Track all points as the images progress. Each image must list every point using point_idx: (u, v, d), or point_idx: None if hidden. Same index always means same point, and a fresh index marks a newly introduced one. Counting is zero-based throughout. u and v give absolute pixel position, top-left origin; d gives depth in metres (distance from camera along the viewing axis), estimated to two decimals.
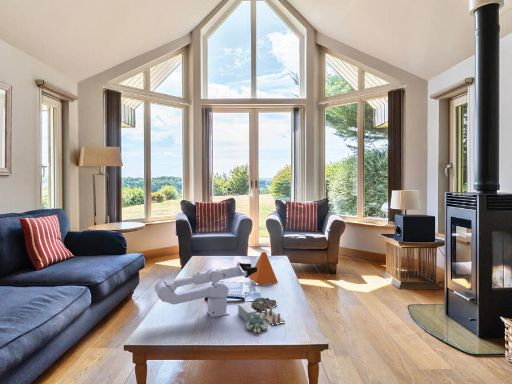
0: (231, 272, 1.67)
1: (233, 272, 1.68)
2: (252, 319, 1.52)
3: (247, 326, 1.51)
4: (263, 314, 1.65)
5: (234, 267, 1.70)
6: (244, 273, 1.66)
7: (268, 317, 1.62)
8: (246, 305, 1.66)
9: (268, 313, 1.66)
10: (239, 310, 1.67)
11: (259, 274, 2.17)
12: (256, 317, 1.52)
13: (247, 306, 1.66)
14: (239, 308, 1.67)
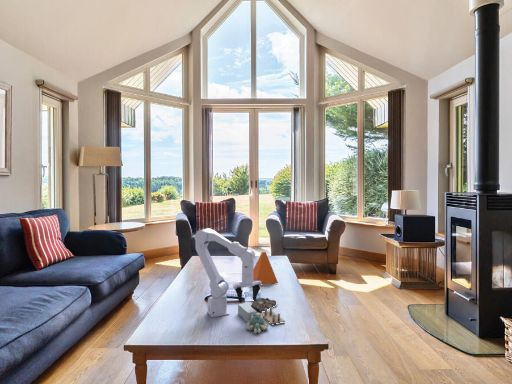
0: (247, 275, 1.60)
1: (242, 276, 1.62)
2: (252, 319, 1.52)
3: (247, 326, 1.51)
4: (263, 314, 1.65)
5: (247, 279, 1.61)
6: (234, 286, 1.60)
7: (268, 317, 1.62)
8: (246, 305, 1.66)
9: (268, 313, 1.66)
10: (239, 310, 1.67)
11: (259, 274, 2.17)
12: (256, 317, 1.52)
13: (247, 306, 1.66)
14: (239, 308, 1.67)
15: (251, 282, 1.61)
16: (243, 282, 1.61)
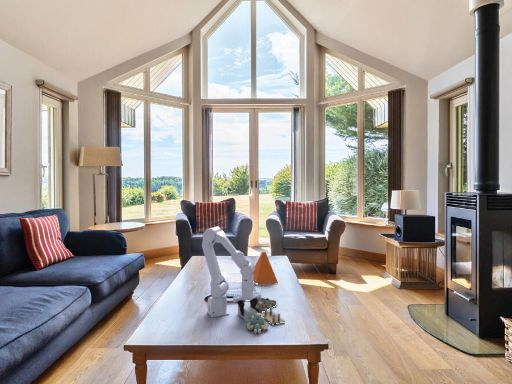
0: (246, 288, 1.61)
1: (242, 289, 1.62)
2: (253, 319, 1.52)
3: (248, 326, 1.51)
4: (263, 314, 1.65)
5: (246, 293, 1.61)
6: (233, 299, 1.60)
7: (268, 317, 1.62)
8: (246, 305, 1.66)
9: (268, 313, 1.66)
10: (239, 310, 1.67)
11: (259, 274, 2.17)
12: (257, 317, 1.51)
13: (247, 306, 1.66)
14: (239, 308, 1.67)
15: (251, 295, 1.62)
16: (243, 295, 1.62)
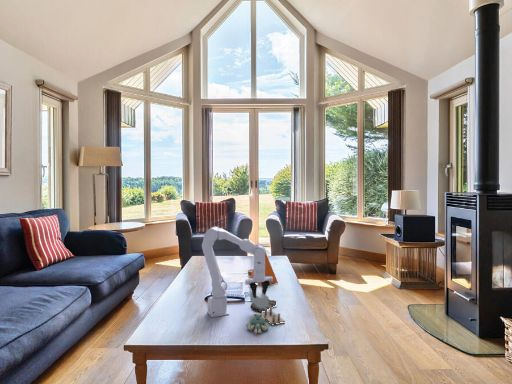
0: (260, 270, 1.63)
1: (254, 272, 1.64)
2: (253, 319, 1.52)
3: (248, 326, 1.50)
4: (263, 314, 1.65)
5: (259, 275, 1.63)
6: (246, 281, 1.63)
7: (268, 317, 1.62)
8: (258, 292, 1.69)
9: (268, 313, 1.66)
10: (251, 296, 1.69)
11: None
12: (257, 317, 1.51)
13: (259, 292, 1.68)
14: (251, 294, 1.69)
15: (263, 278, 1.64)
16: (255, 278, 1.64)
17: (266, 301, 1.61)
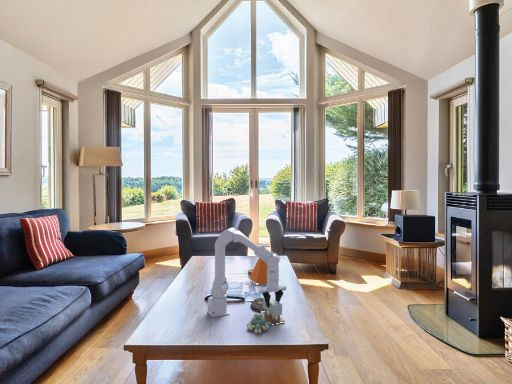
0: (273, 280, 1.59)
1: (268, 281, 1.60)
2: (254, 319, 1.51)
3: (248, 326, 1.50)
4: (263, 314, 1.65)
5: (272, 284, 1.59)
6: (259, 291, 1.58)
7: (268, 317, 1.62)
8: (271, 299, 1.65)
9: (268, 313, 1.66)
10: (264, 303, 1.65)
11: (259, 274, 2.17)
12: (258, 317, 1.51)
13: (272, 299, 1.64)
14: (264, 301, 1.65)
15: (277, 287, 1.60)
16: (268, 287, 1.60)
17: (280, 309, 1.57)
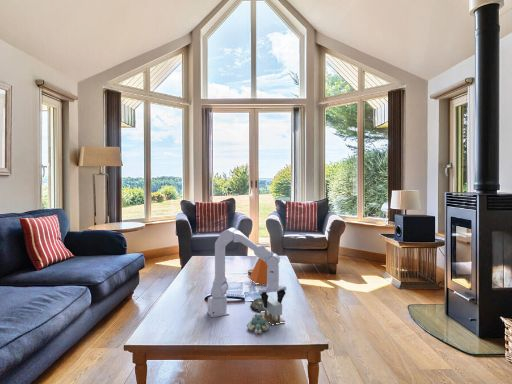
0: (273, 280, 1.59)
1: (268, 281, 1.60)
2: (254, 319, 1.51)
3: (249, 326, 1.50)
4: (263, 314, 1.65)
5: (272, 284, 1.59)
6: (259, 291, 1.58)
7: (268, 317, 1.62)
8: (271, 299, 1.65)
9: (268, 313, 1.66)
10: None
11: (259, 274, 2.17)
12: (258, 318, 1.51)
13: (272, 299, 1.64)
14: None
15: (277, 287, 1.60)
16: (268, 287, 1.60)
17: (280, 309, 1.57)
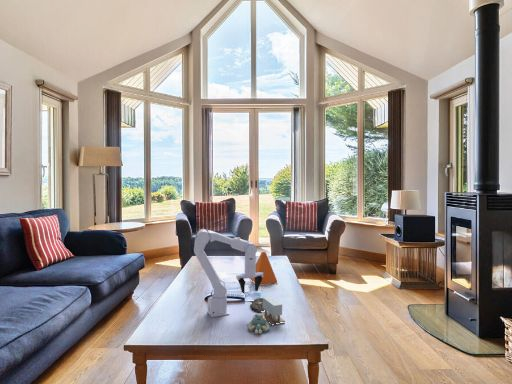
0: (252, 266, 1.68)
1: (245, 268, 1.69)
2: (254, 320, 1.51)
3: (249, 326, 1.50)
4: (263, 314, 1.65)
5: (249, 271, 1.68)
6: (237, 277, 1.67)
7: (268, 317, 1.62)
8: (271, 299, 1.65)
9: (268, 313, 1.66)
10: (264, 303, 1.65)
11: None
12: (258, 318, 1.51)
13: (272, 299, 1.64)
14: (264, 301, 1.65)
15: (253, 273, 1.69)
16: (246, 273, 1.69)
17: (280, 309, 1.57)
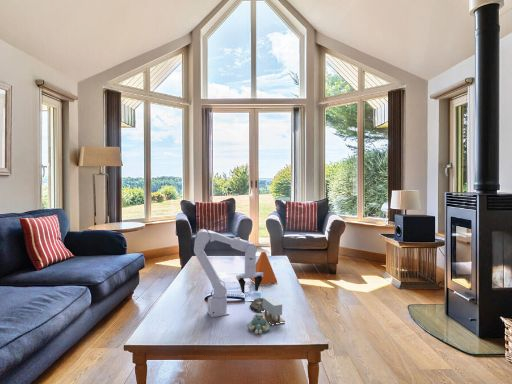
0: (252, 266, 1.68)
1: (245, 268, 1.69)
2: (254, 320, 1.51)
3: (249, 327, 1.50)
4: (263, 314, 1.65)
5: (249, 271, 1.68)
6: (237, 277, 1.67)
7: (268, 317, 1.62)
8: (271, 299, 1.65)
9: (268, 313, 1.66)
10: (264, 303, 1.65)
11: None
12: (258, 318, 1.51)
13: (272, 299, 1.64)
14: (264, 301, 1.65)
15: (253, 273, 1.69)
16: (246, 273, 1.69)
17: (280, 309, 1.57)
